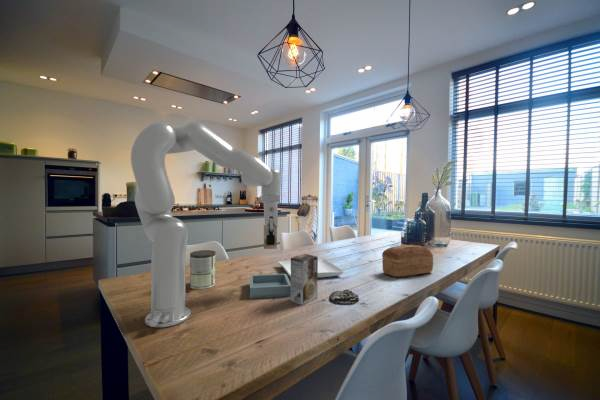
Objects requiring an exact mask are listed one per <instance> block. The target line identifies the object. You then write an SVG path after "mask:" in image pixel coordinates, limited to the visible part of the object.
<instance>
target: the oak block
mask: <svg viewBox="0 0 600 400" xmlns="http://www.w3.org/2000/svg"><path fill="white" fill-rule="evenodd" d="M268 227H270V226H268ZM276 227H277V226H275V225H274V235H275V244H274V245H267V227H266V226H265V224H264V225H263V249H264V250H277V248H278V246H277V245H278V243H277V242H278V239H277V238H278V227H277V228H276Z"/></svg>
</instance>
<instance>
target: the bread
mask: <svg viewBox="0 0 600 400" xmlns="http://www.w3.org/2000/svg"><path fill="white" fill-rule="evenodd" d="M381 257H382V272H383V273H385V274H386V275H388V276H389V277H390V276H391V277H395V278H402V277H407V276H417V275H421V274H422V275H423V274H429V273H431V272H433V270H434V254H433V253H432V252H431V249H429V248H427V247H426V246H424V245H423V246H422V245H416V244H402V245H397V246H396V245H395V246H392V247H388V248H386V249H384V251H383V252H382V256H381Z"/></svg>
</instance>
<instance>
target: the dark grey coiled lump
mask: <svg viewBox="0 0 600 400" xmlns="http://www.w3.org/2000/svg"><path fill="white" fill-rule="evenodd" d="M359 298H360V297H359V295H358V294H356V293H355V292H353V291H352V290H349V289H347V288H346V289H344V290H335V291H332V292H331V293H330V294H329V297H328V300H329V302H330V303H332V304H333V305H338V306H354V305H355V304H357V303H358V302H359V301H360V299H359Z"/></svg>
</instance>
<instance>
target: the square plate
mask: <svg viewBox="0 0 600 400" xmlns="http://www.w3.org/2000/svg"><path fill="white" fill-rule="evenodd" d="M277 263H278V264H279V265H280V267H282V268H283V270H284V271H285V272H286V274H287V276H289V278H291V259H289V260H280V261H279V260H278V261H277ZM344 273H345V270H343V269H341V268H340V267H338V266H337V265H336V264H334V263H332V262H331V261H329V260H328V259H327V260H326V259H325V258H318V279H321V278H331V277H337V276H341V275H342V274H344Z"/></svg>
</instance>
